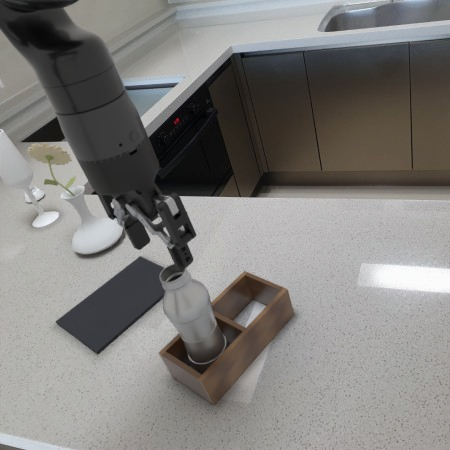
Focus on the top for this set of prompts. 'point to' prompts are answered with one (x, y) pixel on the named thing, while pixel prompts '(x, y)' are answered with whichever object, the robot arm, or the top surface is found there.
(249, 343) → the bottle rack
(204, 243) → the top surface
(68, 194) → the flower in vase
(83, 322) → the mat
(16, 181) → the champagne flute
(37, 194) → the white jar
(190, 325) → the plastic bottle
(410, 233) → the top surface
